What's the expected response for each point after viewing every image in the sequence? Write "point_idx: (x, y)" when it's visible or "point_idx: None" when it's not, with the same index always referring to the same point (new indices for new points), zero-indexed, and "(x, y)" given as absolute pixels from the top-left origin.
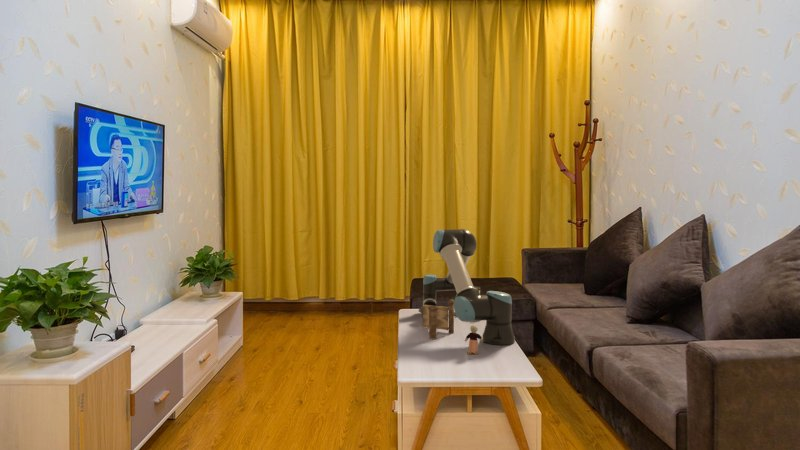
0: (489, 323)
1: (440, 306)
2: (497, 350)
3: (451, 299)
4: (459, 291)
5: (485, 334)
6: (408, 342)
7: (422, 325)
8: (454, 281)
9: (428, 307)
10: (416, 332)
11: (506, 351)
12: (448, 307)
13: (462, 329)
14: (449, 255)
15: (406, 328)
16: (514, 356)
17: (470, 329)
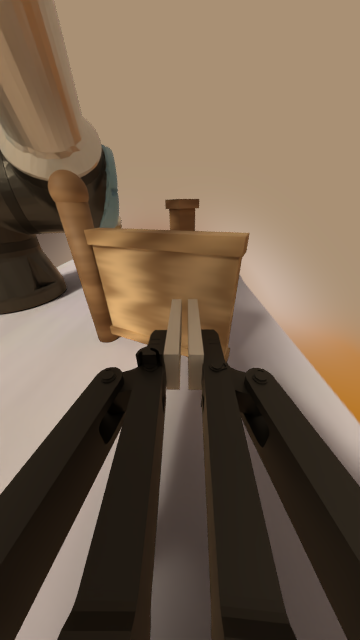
0: (38, 242)
1: (126, 230)
2: (76, 271)
3: (64, 170)
4: (87, 121)
5: (57, 272)
6: (239, 286)
7: (229, 350)
8: (61, 33)
9: (197, 199)
10: (243, 338)
11: (65, 270)
12: (88, 230)
13: (25, 376)
14: None
15: (322, 388)
16: (70, 263)
17: (120, 224)
